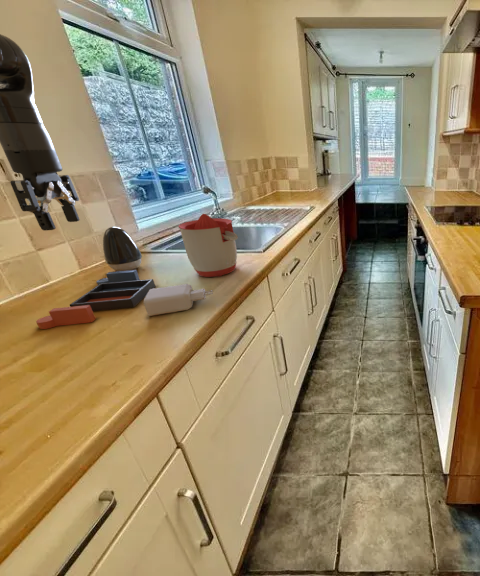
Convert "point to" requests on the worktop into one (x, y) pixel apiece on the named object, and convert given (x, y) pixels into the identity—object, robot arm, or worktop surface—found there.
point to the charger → (172, 299)
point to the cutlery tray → (115, 295)
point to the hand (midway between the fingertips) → (62, 225)
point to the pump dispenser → (120, 250)
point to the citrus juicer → (210, 245)
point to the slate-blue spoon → (119, 277)
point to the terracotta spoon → (67, 316)
